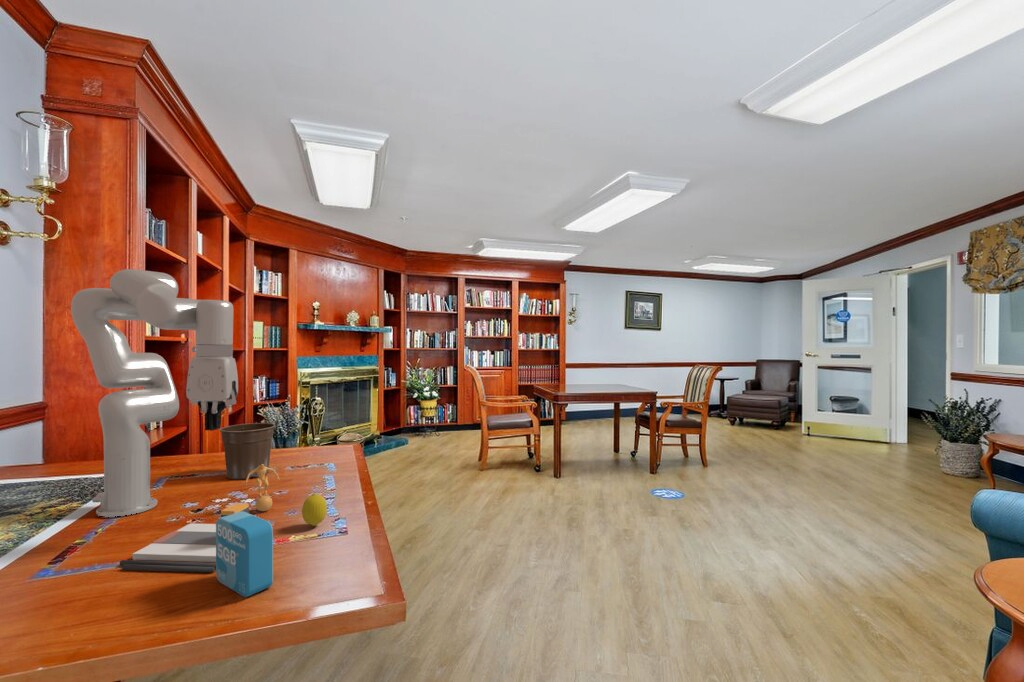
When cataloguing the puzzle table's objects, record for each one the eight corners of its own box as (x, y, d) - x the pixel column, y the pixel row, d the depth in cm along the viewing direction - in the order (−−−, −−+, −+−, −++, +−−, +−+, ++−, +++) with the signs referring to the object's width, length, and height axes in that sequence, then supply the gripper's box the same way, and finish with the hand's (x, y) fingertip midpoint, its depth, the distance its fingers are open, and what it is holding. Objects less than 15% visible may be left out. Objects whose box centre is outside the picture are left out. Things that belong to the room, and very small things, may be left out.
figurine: (248, 516, 120) (247, 469, 120) (242, 510, 125) (242, 464, 125) (283, 509, 126) (283, 464, 126) (276, 503, 130) (276, 459, 130)
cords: (112, 570, 92) (112, 565, 92) (123, 564, 95) (123, 559, 95) (212, 573, 91) (212, 568, 91) (221, 567, 94) (221, 562, 94)
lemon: (331, 523, 116) (331, 491, 116) (315, 532, 111) (315, 498, 111) (313, 520, 118) (313, 488, 118) (296, 529, 112) (296, 495, 112)
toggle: (220, 542, 101) (220, 511, 101) (235, 533, 106) (235, 502, 106) (234, 543, 101) (234, 511, 101) (248, 533, 106) (248, 503, 106)
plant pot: (234, 468, 165) (234, 422, 165) (282, 467, 167) (282, 421, 167) (209, 483, 149) (209, 431, 149) (263, 481, 151) (263, 430, 150)
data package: (215, 580, 89) (215, 516, 89) (240, 570, 92) (240, 509, 92) (248, 600, 82) (247, 531, 82) (273, 589, 86) (273, 522, 86)
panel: (131, 559, 97) (131, 552, 97) (189, 528, 113) (189, 522, 113) (227, 562, 96) (227, 555, 96) (272, 530, 112) (272, 524, 112)
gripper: (172, 351, 109) (170, 431, 109) (233, 353, 108) (232, 434, 108) (196, 350, 117) (194, 425, 117) (254, 352, 115) (252, 427, 116)
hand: (212, 429), depth 112 cm, fingers closed
